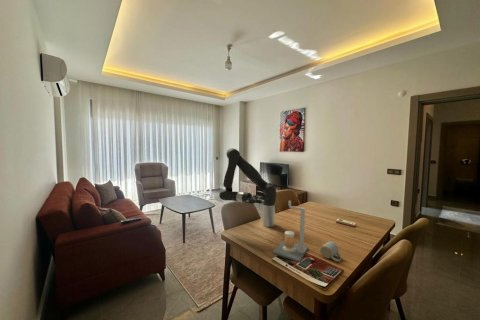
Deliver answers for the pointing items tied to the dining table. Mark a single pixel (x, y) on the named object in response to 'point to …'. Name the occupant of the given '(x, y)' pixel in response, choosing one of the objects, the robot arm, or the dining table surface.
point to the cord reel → (289, 240)
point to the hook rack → (298, 248)
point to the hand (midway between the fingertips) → (264, 200)
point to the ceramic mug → (330, 250)
